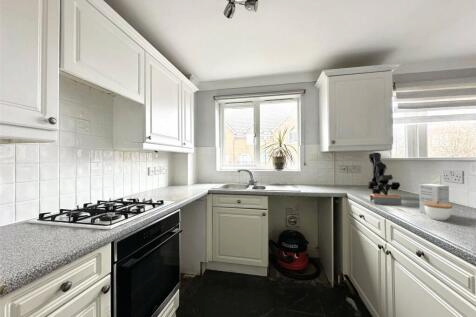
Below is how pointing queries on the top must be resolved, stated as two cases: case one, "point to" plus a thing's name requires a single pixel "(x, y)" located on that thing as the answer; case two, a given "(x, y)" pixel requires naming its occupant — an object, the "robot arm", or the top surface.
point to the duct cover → (386, 195)
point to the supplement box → (433, 194)
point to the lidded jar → (438, 210)
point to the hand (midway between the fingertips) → (386, 195)
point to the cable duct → (385, 200)
